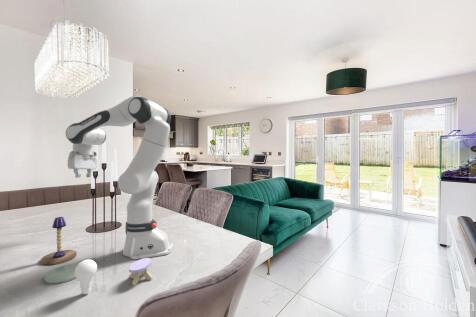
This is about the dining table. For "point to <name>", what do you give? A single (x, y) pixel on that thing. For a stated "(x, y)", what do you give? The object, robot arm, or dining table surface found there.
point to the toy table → (140, 270)
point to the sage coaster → (61, 274)
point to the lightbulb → (85, 274)
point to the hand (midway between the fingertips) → (83, 177)
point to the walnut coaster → (53, 261)
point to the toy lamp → (59, 236)
